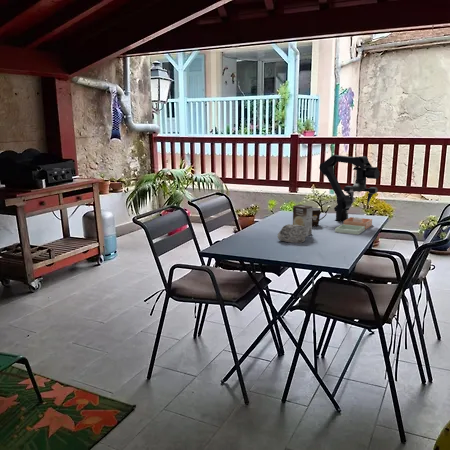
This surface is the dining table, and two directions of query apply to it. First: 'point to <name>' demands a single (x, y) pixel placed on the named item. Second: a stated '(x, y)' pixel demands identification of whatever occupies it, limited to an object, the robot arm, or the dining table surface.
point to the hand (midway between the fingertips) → (360, 203)
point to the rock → (292, 233)
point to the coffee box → (303, 217)
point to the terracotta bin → (366, 222)
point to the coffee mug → (316, 216)
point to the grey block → (358, 219)
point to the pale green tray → (350, 229)
